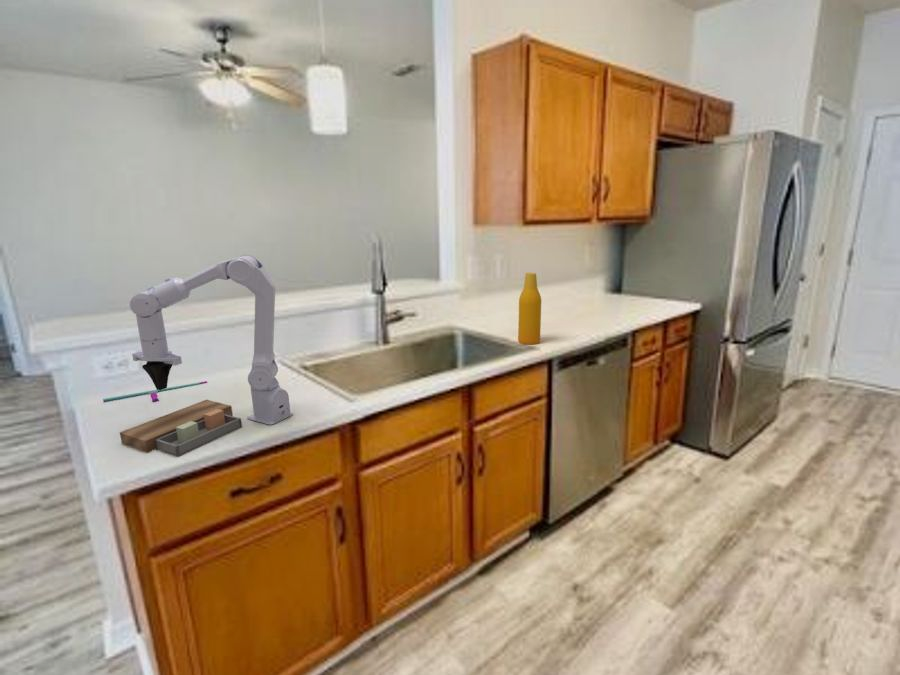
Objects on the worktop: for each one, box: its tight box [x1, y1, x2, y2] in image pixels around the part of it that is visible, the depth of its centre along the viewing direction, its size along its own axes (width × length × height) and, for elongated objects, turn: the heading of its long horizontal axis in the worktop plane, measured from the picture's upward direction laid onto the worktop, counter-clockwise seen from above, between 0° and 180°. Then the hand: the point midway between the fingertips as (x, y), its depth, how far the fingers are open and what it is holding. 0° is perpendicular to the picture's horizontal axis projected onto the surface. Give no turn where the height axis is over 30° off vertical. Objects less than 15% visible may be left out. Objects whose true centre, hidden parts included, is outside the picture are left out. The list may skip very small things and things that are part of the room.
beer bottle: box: [517, 272, 542, 346], centre depth 205 cm, size 9×9×29 cm
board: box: [119, 399, 234, 454], centre depth 130 cm, size 10×24×3 cm, turn 152°
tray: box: [155, 414, 243, 458], centre depth 124 cm, size 8×18×2 cm, turn 152°
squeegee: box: [102, 380, 208, 403], centre depth 154 cm, size 29×2×10 cm
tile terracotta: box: [204, 409, 225, 430], centre depth 130 cm, size 4×4×2 cm
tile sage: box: [176, 421, 199, 443], centre depth 122 cm, size 4×4×2 cm
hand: (161, 388), depth 130 cm, fingers closed
